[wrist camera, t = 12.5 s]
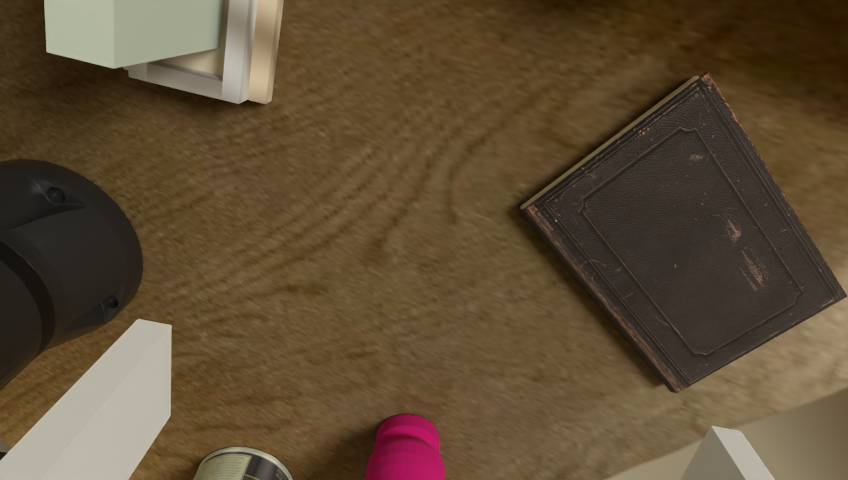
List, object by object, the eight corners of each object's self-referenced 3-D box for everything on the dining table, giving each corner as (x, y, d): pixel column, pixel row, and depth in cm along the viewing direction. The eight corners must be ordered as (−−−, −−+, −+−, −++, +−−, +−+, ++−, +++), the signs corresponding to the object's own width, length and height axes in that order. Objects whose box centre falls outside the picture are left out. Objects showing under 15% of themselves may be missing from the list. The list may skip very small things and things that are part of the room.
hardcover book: (693, 68, 38) (708, 72, 36) (828, 283, 45) (847, 296, 43) (515, 203, 43) (519, 213, 40) (662, 379, 49) (672, 396, 47)
